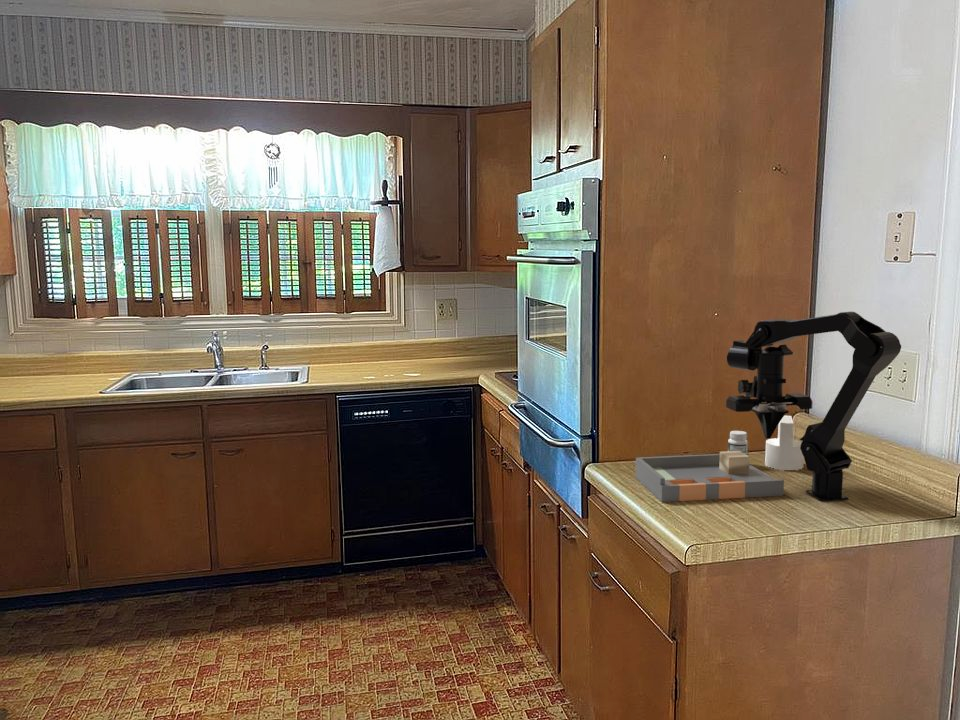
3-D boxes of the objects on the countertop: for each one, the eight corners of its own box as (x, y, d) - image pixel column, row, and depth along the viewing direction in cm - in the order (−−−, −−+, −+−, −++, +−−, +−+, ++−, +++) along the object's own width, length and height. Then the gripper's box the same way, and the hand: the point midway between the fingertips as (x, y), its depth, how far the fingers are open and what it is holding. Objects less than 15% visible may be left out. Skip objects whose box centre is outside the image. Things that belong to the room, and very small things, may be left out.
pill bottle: (731, 460, 195) (732, 429, 194) (749, 463, 192) (750, 431, 191) (724, 464, 192) (725, 432, 190) (742, 468, 189) (744, 435, 187)
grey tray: (783, 495, 167) (784, 473, 166) (661, 501, 164) (662, 479, 163) (745, 472, 185) (746, 452, 184) (635, 477, 182) (635, 457, 181)
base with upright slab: (804, 472, 184) (807, 424, 183) (765, 469, 187) (767, 422, 186) (801, 462, 193) (804, 416, 191) (764, 459, 196) (766, 414, 194)
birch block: (748, 473, 176) (749, 456, 175) (728, 474, 175) (728, 457, 175) (739, 467, 181) (739, 450, 180) (719, 468, 180) (719, 451, 180)
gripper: (790, 366, 184) (787, 428, 187) (717, 369, 182) (715, 432, 185) (815, 373, 174) (812, 439, 176) (737, 376, 171) (735, 443, 174)
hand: (767, 438), depth 178 cm, fingers closed
